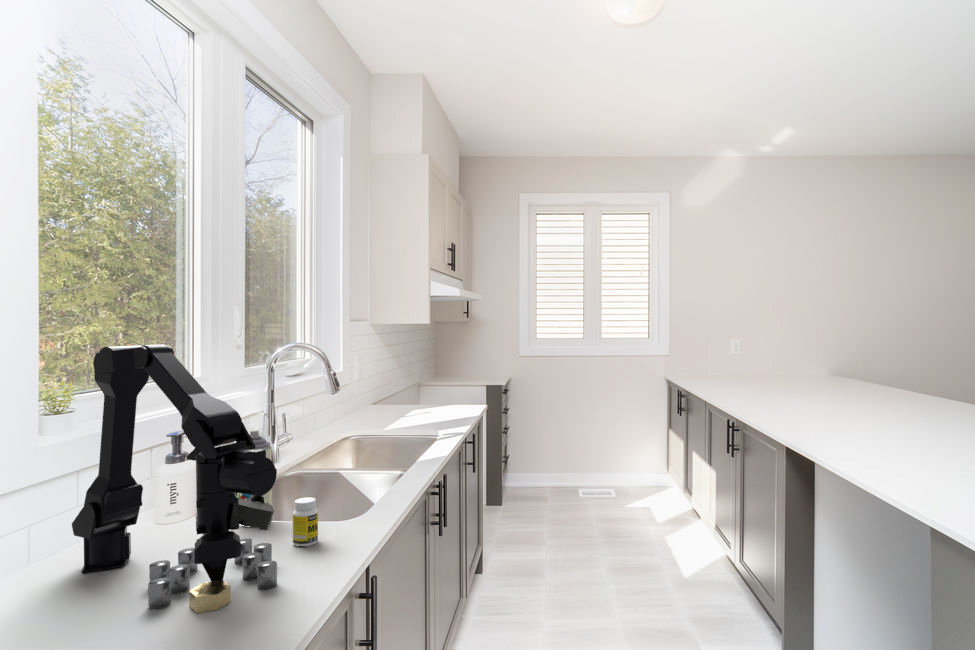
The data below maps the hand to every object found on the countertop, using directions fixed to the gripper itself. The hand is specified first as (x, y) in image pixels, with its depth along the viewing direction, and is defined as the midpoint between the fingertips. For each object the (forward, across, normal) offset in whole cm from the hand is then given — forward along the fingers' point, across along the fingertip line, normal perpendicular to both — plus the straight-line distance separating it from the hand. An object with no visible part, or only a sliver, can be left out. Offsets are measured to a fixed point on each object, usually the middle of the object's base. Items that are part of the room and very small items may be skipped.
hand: (217, 586), depth 93 cm
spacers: (+1, +6, +1) cm, 6 cm away
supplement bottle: (+1, +16, -16) cm, 23 cm away
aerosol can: (+1, +34, -8) cm, 35 cm away
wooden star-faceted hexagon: (+1, -3, +1) cm, 4 cm away
